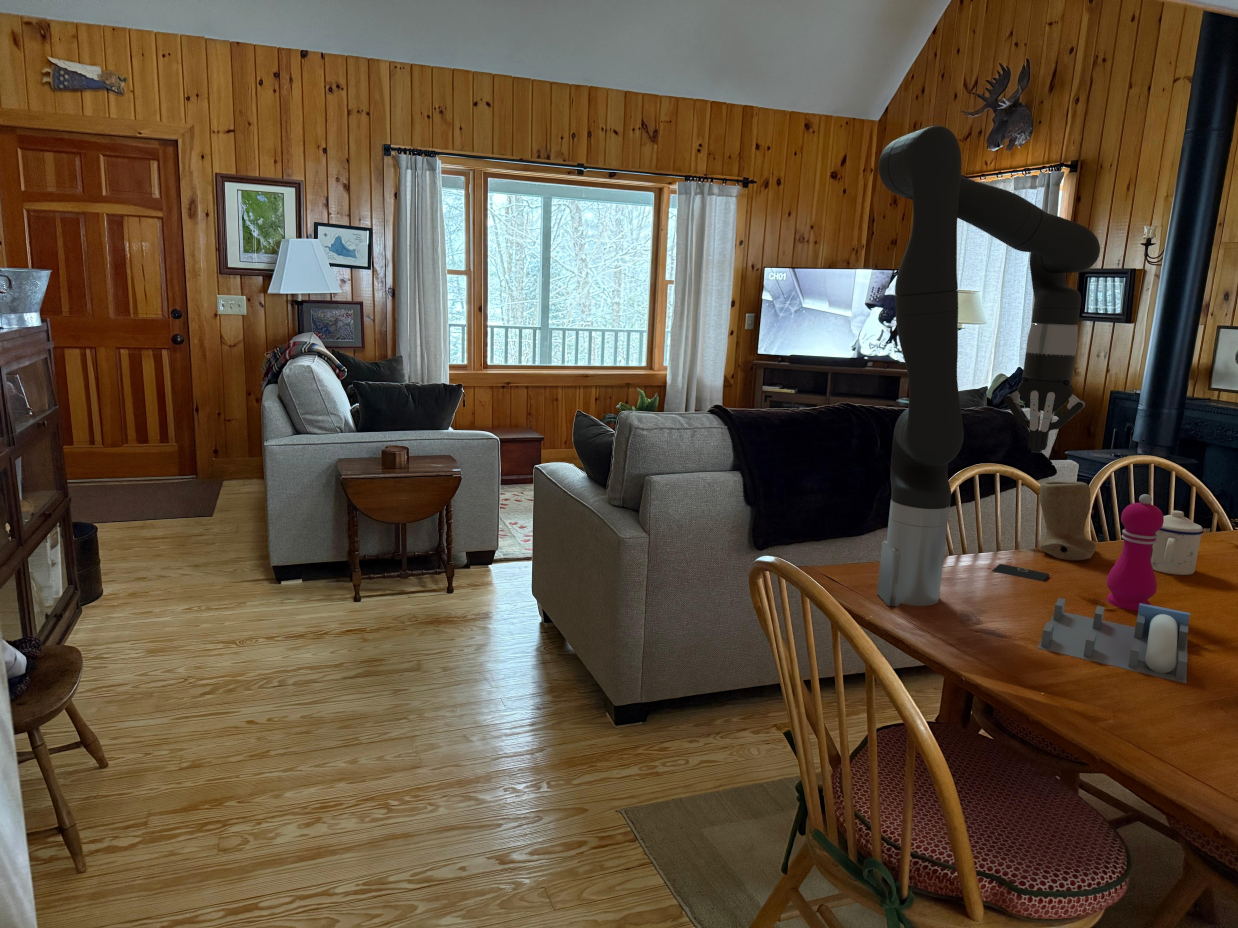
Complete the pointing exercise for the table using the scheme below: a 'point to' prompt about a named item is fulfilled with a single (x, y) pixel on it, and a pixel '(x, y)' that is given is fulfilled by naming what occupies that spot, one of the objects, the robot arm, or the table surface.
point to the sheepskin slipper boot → (1066, 519)
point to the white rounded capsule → (1162, 644)
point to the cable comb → (1113, 639)
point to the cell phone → (1021, 572)
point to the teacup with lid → (1176, 545)
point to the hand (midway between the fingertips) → (1036, 452)
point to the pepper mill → (1136, 556)
